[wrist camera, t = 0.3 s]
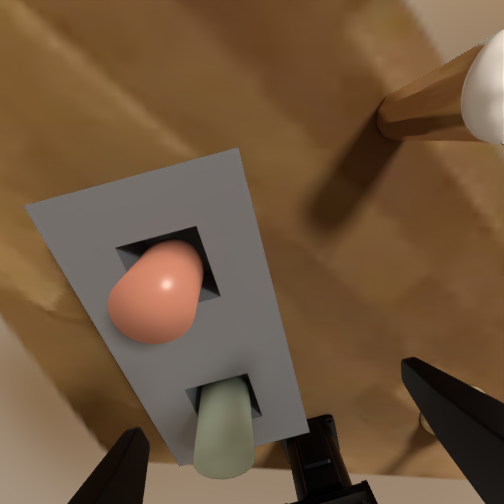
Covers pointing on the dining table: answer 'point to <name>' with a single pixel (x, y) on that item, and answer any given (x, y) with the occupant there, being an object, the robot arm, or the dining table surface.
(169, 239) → the terracotta plug
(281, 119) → the dining table surface
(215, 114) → the dining table surface
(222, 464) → the sage plug
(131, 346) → the console
